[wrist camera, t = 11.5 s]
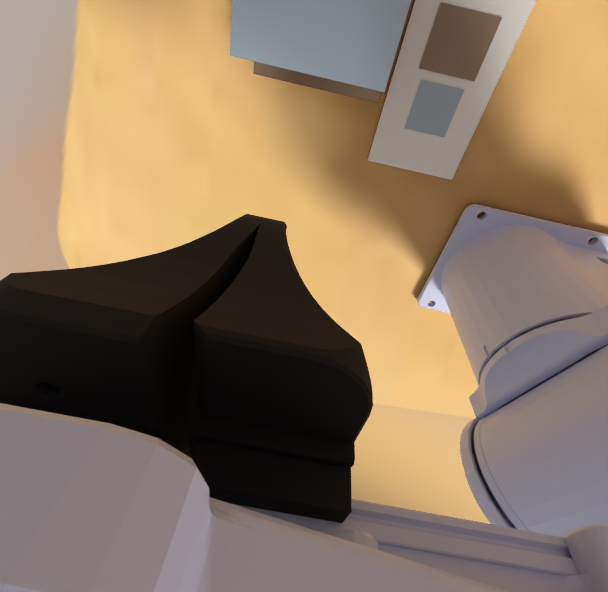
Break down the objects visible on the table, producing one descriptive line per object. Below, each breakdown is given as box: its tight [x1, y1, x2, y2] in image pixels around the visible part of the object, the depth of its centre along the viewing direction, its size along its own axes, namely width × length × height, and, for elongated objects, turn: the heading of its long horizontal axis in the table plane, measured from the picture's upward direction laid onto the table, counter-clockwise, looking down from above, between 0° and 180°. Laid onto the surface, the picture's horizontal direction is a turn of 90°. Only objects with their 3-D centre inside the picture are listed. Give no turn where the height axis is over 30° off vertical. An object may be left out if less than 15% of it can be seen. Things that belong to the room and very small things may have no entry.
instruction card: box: [368, 0, 536, 180], centre depth 16 cm, size 5×8×1 cm, turn 169°
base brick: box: [254, 61, 382, 103], centre depth 14 cm, size 6×6×2 cm
